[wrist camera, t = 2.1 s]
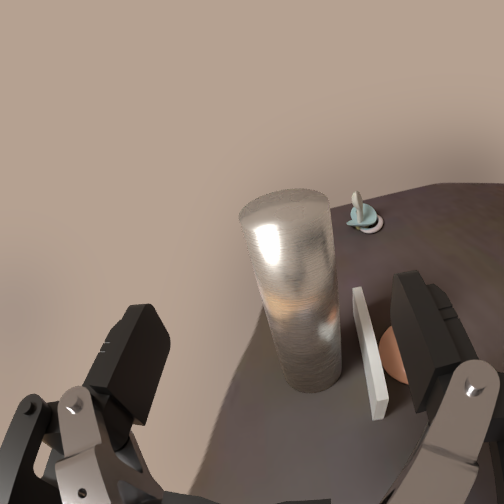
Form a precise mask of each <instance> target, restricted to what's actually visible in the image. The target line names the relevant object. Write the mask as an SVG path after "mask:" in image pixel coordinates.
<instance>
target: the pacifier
mask: <svg viewBox="0 0 504 504" xmlns="http://www.w3.org/2000/svg"><path fill="white" fill-rule="evenodd" d="M352 203H353V205H354V208H353V209H352V211H351V218H352V220H351V221H349V222H347V225H350V226H355V227H356V228H357V229H358V230H361V231H362V232H365V233H374V232H377V231H378V230H380V229H381V227H382V225H383V220H382V218H381V217H380V216H379V215H377V214H376V212H375V210H374V209H373V208H372V207H371V206H369V205H367V204H363V201H362V198H361V195H360V193H359V192H358V191H356V192H354V193H353V195H352ZM356 212H357V214H356ZM376 220H377V221H378V224H377V225H376V226H375V227H373V228H369V229H368V227H369V225H373V224H374V223H375V222H376Z"/></svg>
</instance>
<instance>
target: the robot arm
mask: <svg viewBox="0 0 504 504" xmlns="http://www.w3.org/2000/svg"><path fill="white" fill-rule="evenodd" d="M390 317H391V324H392V329H393V332H394V335H395V338H396V342H397V345H398V348H399V352H400V355H401V358H402V362H403V365H404V369H405V373H406V376H407V380H408V384H409V388H410V392H411V396H412V400H413V404H414V408H415V412H416V413H420V412H424V411H427V415H428V419H429V421H428V423H427V425H426V427H425V429H424V431H423V433H422V435H421V437H420V439H419V441H418V442H417V444H416V446H415V448H414V450H413V452H412V453H411V455H410V457H409V459H408V461H407V462H406V464H405V466H404V467H403V469H402V471H401V472H400V474H399V475H398V477H397V478H396V480H395V481H394V483H393V484H392V486H391V487H390V488H389V490H388V491H387V493H386V494H385V496H384V497H383V499H382V500H381V501H380V503H379V504H464V502H465V500H466V498H467V496H468V494H469V492H470V490H471V488H472V486H473V483H474V481H475V479H476V476H477V473H478V469H479V465H478V463H477V457H478V454H479V452H480V449H481V447H482V444H483V442H489V446H490V451H491V456H492V462H493V468H494V475H495V483H496V491H497V501H498V504H504V373H499V372H496V370H495V369H494V368H493V367H492V366H491V365H490V364H488V363H487V362H484V361H481V360H479V358H478V357H477V355H476V352H475V350H474V348H473V346H472V344H471V342H470V339H469V337H468V335H467V333H466V331H465V329H464V327H463V325H462V323H461V321H460V319H458V315H457V313H456V311H455V310H454V308H452V304H451V302H450V300H449V298H448V297H447V295H446V293H445V292H443V291H442V290H441V289H440V288H439V287H437V286H436V285H435V284H430V285H426V284H425V283H424V281H423V279H422V277H421V275H420V273H419V272H418V271H417V270H415V271H409V272H403V273H397V274H394V276H393V285H392V297H391V308H390ZM169 351H170V337H169V334H168V332H167V330H166V329H165V327H164V325H163V323H162V321H161V319H160V318H159V316H158V314H157V312H156V310H155V308H154V307H153V306H152V305H151V304H139V305H130V306H129V307H128V309H127V310H126V313H125V314H124V316H123V318H122V320H120V321H119V322H118V323H117V324H116V325H115V326H114V327H113V328H112V329H111V330H110V332H109V334H108V336H107V338H106V339H105V343H103V345H102V347H101V349H100V353H98V355H97V357H96V359H95V361H94V363H93V365H92V367H91V369H90V371H89V373H88V375H87V377H86V379H85V381H84V383H83V385H82V386H76V387H73V388H71V389H69V390H68V391H66V392H65V393H64V395H63V396H62V397H61V399H60V401H56V402H49V403H46V402H45V401H44V400H43V399H42V398H41V397H40V396H39V395H37V394H30V395H28V396H26V397H25V398H24V399H23V400H22V401H21V402H20V404H19V406H18V408H17V410H16V413H15V414H14V417H13V419H12V421H11V424H10V426H9V428H8V431H7V433H6V435H5V438H4V441H3V443H2V446H1V448H0V504H219V503H216V502H213V501H211V500H208V499H205V498H203V497H199V496H192V495H185V494H179V493H173V492H168V491H164V490H163V489H162V488H161V486H160V485H159V484H158V483H157V482H156V481H155V480H154V479H153V477H152V476H151V474H150V472H149V470H148V467H147V465H146V463H145V461H144V458H143V456H142V453H141V451H140V449H139V446H138V444H137V441H136V439H135V436H134V434H133V433H132V431H131V427H132V424H136V425H142V426H145V424H146V421H147V418H148V414H149V411H150V408H151V405H152V402H153V399H154V396H155V393H156V390H157V386H158V383H159V380H160V377H161V374H162V371H163V368H164V365H165V362H166V359H167V356H168V354H169ZM42 441H43V442H44V443H45V444H47V445H48V446H50V447H51V448H52V450H51V453H50V456H49V459H48V462H47V465H46V468H45V471H44V475H43V477H42V478H38V477H37V476H36V475H35V473H34V470H33V465H34V462H35V459H36V456H37V453H38V450H39V447H40V445H41V442H42ZM277 504H331V499H322V500H308V501H286V502H282V503H277Z"/></svg>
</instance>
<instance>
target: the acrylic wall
mask: <svg viewBox="0 0 504 504" xmlns="http://www.w3.org/2000/svg"><path fill="white" fill-rule="evenodd" d="M353 315H354V320H355V324H356V329H357V334H358V338H359V343H360V348H361V354H362V359H363V364H364V370H365V375H366V381H367V387H368V393H369V399H370V405H371V412H372V419H373V421H374V420H379V419H383V418H384V415H385V412H386V408H387V404H388V401H389V396H388V391H387V386H386V382H385V377H384V372H383V368H382V364H381V359H380V355H379V351H378V347H377V343H376V339H375V335H374V331H373V327H372V323H371V319H370V316H369V312H368V308H367V305H366V301H365V298H364V294H363V291H362V287H357V288H353Z"/></svg>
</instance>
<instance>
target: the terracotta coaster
mask: <svg viewBox="0 0 504 504" xmlns="http://www.w3.org/2000/svg"><path fill="white" fill-rule="evenodd" d="M379 355H380V359H381V364H382V366H383V368H384V370H385V371H386V372H387V373H388V374H389V375H390V376H391V377H392V378H394V379H395V380H397V381H399V382H401V383H404V384H407V385H409V384H408V380H407V376H406V373H405V369H404V365H403V362H402V358H401V355H400V352H399V348H398V345H397V342H396V338H395V335H394V332H393V329H392V326H390V327H389V328H388V329H387V330H386V331H385V333H384V334H383V336H382V337H381V340H380V343H379Z"/></svg>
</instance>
